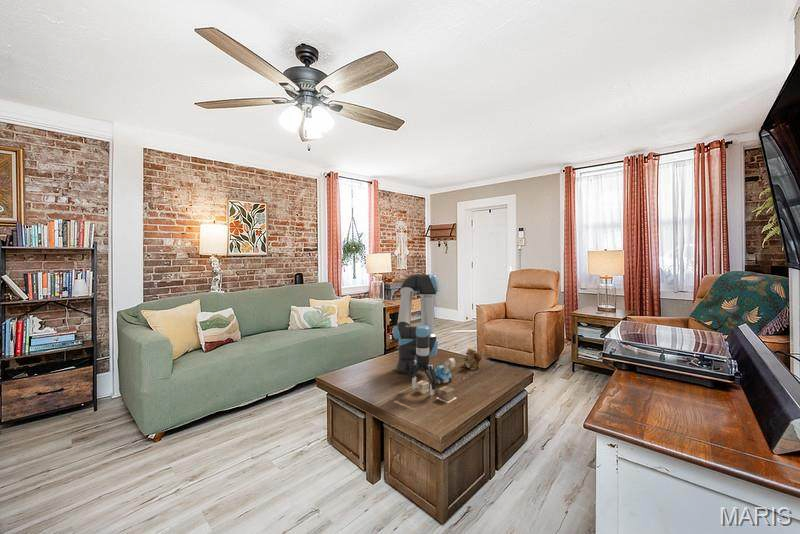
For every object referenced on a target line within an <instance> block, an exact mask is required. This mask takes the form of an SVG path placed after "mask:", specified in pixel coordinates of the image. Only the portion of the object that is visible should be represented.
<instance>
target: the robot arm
mask: <svg viewBox="0 0 800 534" xmlns="http://www.w3.org/2000/svg"><path fill="white" fill-rule="evenodd" d="M415 293H418V295H419V297H420V305H421V306H420V317H421V318H420V326H419V325H418V326H412V325H411V318H412V317H411V316H412V315H411V314H412V306H413V304H412V303H413V296H414V294H415ZM437 293H439V285H438V278H437V276H436V274H430V273H429V274H411V275H409V276H407V277H406V278H405V279H404V280H403V282H402V283H401V286H400V289H399V294H400V301H399V302H400V303H399V311H398V315H397V316H398V318H397V325H394V326H393V329H392V337H393V338H394V339H396V340H398V342H397V343H398V344H397V346H398V360H397V365H396V367H395V368H396V370H395V371H396V372H397V373H399V374H402V375H408V376H410V377H411V385H412V386H411V387H412V390H415V389H416V390H417V375H418V373H419V372H420V371H421V372H423V373H425V374H426V376H427V378H428V380H429V396H432V397H433V396H434V395H435V390H436V384H439V383H438V379H437V377H436V374H435V368H434V364H430V357H436V356H437V354H438V347H439V338H437V334H435V297H436V295H437Z"/></svg>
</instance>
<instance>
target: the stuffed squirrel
mask: <svg viewBox="0 0 800 534" xmlns="http://www.w3.org/2000/svg"><path fill="white" fill-rule="evenodd" d="M464 355H465V356H466V357H463V362H464V363H462V364H461V365H460V367H461V368H467V369H469V370H470V371H475V370H476V369H477V367H479V365H480V362H481V360H483V354H482V353H481V352H477V350H474V349H472V348H467V351H466V352H465V353H464Z"/></svg>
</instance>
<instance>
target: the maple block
mask: <svg viewBox="0 0 800 534" xmlns="http://www.w3.org/2000/svg"><path fill="white" fill-rule="evenodd" d="M416 392H418V393H420V394H422V395H424V394H426V393H428V392H429V393H430V381H429V382H428V381H426V380H420V381H418V382H417V381H416Z"/></svg>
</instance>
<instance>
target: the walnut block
mask: <svg viewBox="0 0 800 534" xmlns="http://www.w3.org/2000/svg"><path fill="white" fill-rule="evenodd" d="M438 397H439V399H442V400H445V401H447V402H448V401H450V400H452V399H453V398H454V397H455V388H453V387H450V386H447V385H444V386H442V387H440V388H438ZM439 399H438V400H439ZM442 400H441V401H442ZM452 401H453V400H452ZM447 402H446V403H447Z"/></svg>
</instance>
